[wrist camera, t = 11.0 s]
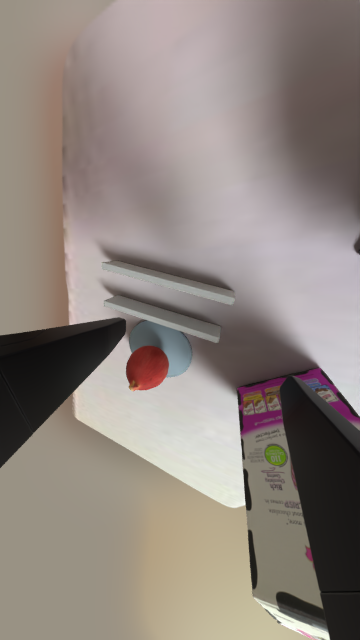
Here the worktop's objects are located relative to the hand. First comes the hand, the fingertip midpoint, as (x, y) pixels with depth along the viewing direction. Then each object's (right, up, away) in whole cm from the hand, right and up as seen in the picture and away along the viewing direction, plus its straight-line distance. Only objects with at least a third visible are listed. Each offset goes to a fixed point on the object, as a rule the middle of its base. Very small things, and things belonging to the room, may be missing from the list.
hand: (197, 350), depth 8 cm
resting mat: (-4, -3, +17) cm, 18 cm away
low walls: (-3, +5, +12) cm, 14 cm away
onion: (-4, -3, +16) cm, 17 cm away
